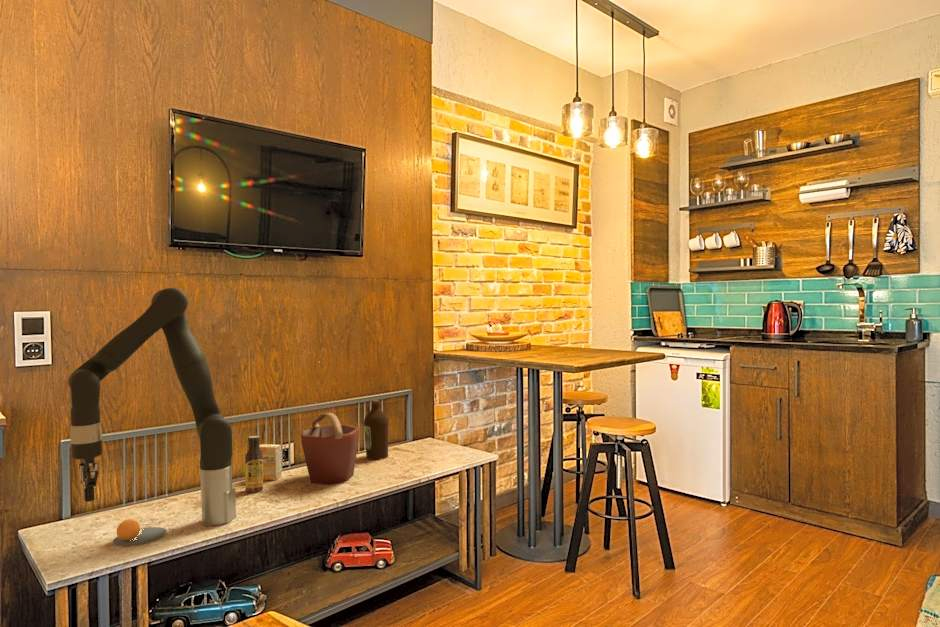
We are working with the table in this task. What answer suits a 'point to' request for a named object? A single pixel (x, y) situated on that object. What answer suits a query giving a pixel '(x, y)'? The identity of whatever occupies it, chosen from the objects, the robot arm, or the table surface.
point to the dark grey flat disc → (143, 536)
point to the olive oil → (376, 433)
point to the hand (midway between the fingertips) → (89, 500)
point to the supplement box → (271, 461)
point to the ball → (128, 529)
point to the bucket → (330, 450)
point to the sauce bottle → (254, 466)
